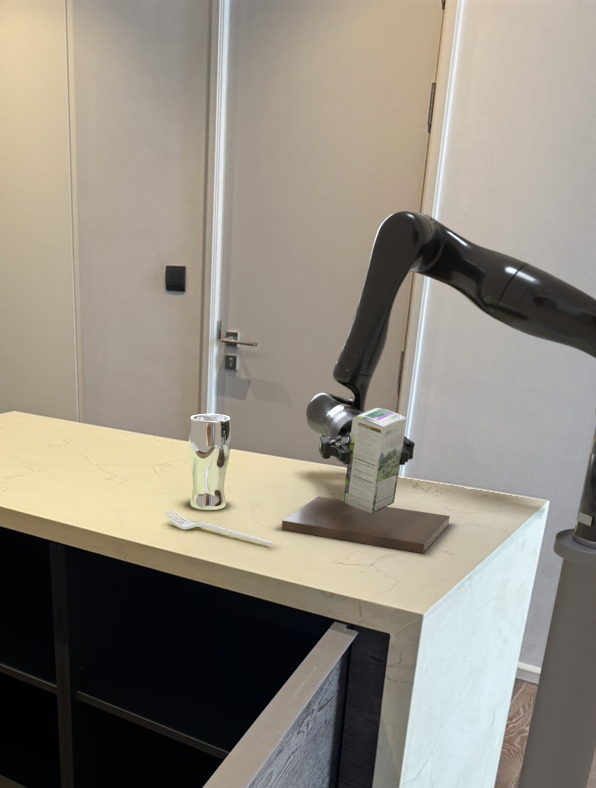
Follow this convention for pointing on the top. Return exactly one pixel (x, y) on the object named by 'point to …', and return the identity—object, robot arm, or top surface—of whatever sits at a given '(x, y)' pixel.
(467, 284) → the robot arm
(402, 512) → the walnut board
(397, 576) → the top surface
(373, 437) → the syrup box
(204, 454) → the beer glass
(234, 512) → the top surface
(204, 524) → the fork
